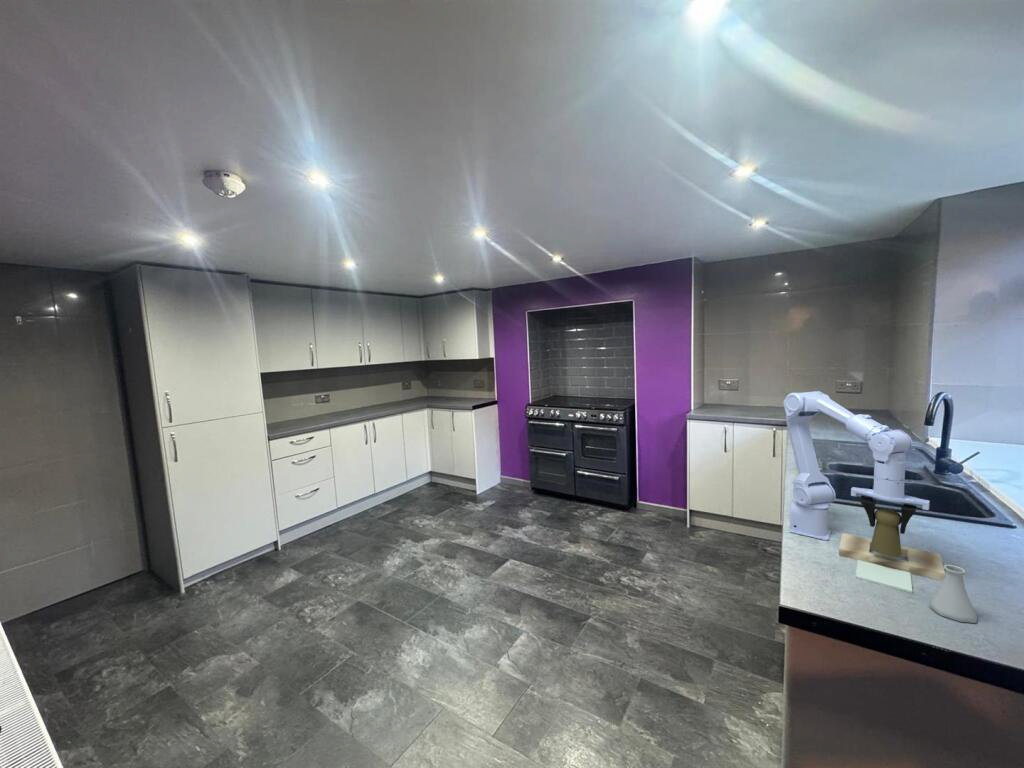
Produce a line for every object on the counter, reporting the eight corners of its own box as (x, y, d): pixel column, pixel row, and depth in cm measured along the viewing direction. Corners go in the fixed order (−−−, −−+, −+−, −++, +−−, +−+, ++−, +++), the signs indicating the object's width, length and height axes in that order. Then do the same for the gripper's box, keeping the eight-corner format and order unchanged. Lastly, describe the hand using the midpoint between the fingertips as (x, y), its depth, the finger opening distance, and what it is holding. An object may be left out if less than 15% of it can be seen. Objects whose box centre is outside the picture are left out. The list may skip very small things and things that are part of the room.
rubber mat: (855, 577, 100) (855, 576, 100) (857, 561, 107) (857, 559, 107) (912, 593, 93) (912, 591, 93) (910, 574, 100) (910, 572, 100)
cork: (906, 558, 100) (909, 517, 99) (876, 554, 103) (878, 514, 101) (894, 545, 106) (897, 506, 104) (865, 542, 108) (868, 504, 107)
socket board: (838, 555, 111) (839, 548, 110) (842, 539, 119) (842, 533, 119) (944, 581, 97) (945, 573, 97) (939, 561, 106) (940, 554, 106)
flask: (985, 628, 81) (987, 581, 80) (935, 617, 85) (937, 572, 84) (969, 608, 87) (971, 564, 86) (923, 598, 91) (925, 556, 90)
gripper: (931, 480, 99) (929, 532, 100) (855, 468, 110) (854, 516, 111) (928, 487, 94) (926, 542, 95) (849, 474, 105) (848, 524, 106)
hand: (887, 529), depth 103 cm, fingers closed on cork, 5 cm apart
